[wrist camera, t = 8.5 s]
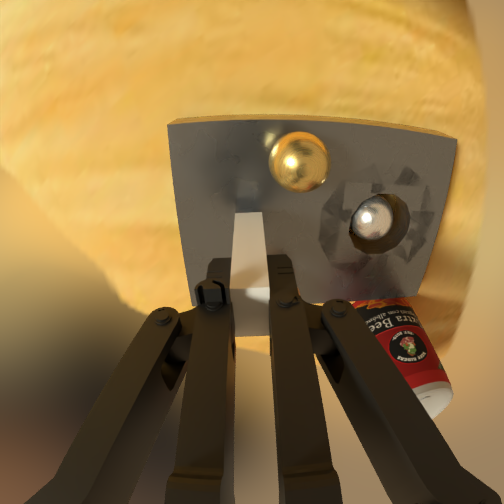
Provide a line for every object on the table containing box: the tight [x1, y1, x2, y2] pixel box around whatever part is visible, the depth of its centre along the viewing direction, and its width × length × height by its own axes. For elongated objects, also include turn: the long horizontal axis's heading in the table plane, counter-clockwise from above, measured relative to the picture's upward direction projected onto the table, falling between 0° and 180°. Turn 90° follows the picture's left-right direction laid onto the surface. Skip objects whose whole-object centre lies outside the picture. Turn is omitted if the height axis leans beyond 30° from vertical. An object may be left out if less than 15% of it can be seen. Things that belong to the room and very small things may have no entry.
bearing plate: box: [167, 115, 457, 306], centre depth 20 cm, size 13×18×2 cm
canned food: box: [352, 297, 453, 419], centre depth 22 cm, size 8×8×11 cm
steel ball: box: [350, 194, 393, 240], centre depth 19 cm, size 3×3×3 cm
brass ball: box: [269, 131, 331, 193], centre depth 15 cm, size 3×3×3 cm
